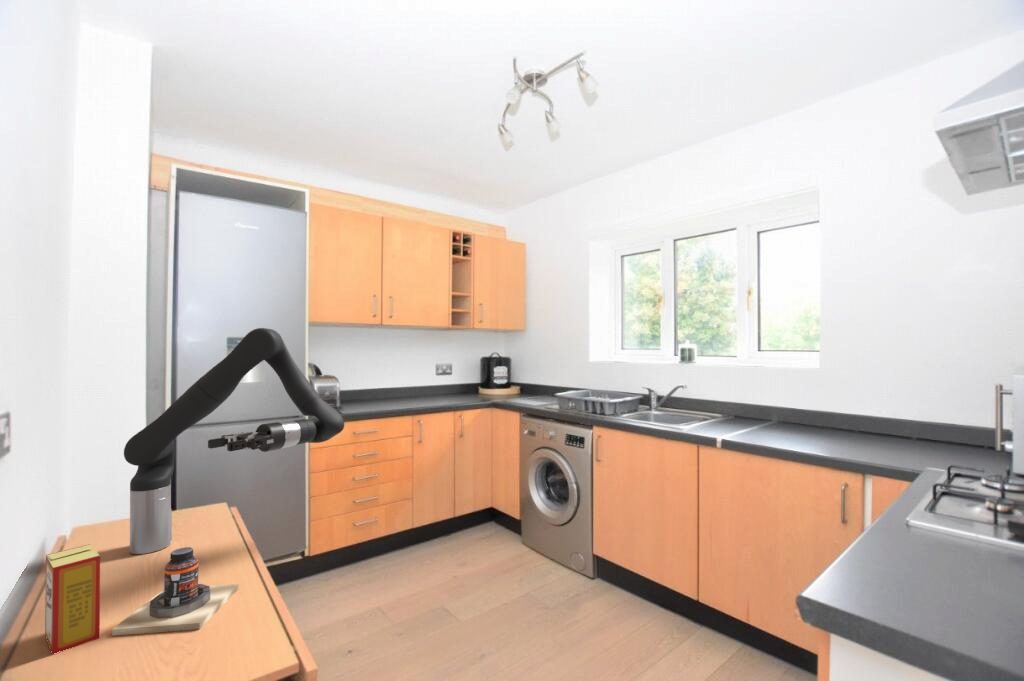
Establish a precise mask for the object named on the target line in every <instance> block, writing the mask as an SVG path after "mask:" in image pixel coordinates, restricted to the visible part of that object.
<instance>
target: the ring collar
mask: <svg viewBox="0 0 1024 681" xmlns="http://www.w3.org/2000/svg"><path fill="white" fill-rule="evenodd" d="M210 586H211V585H208V584H203V583H198V588H199V589H198V595H199V597H198V598H195V599H193V600H191V601H189V602H186V603H183V604H179V605H175V606H161V605H163V604H164V593H161V594H159V595H158V596H156V595H155V596H156V597H155V596H154V597H155V598H154V599H153V600H151V599H150V600H151V601H150V616H151V617H154V618H157V619H162V618H173V617H177V616H181V615H184V614H188V613H191V612H193V611H195V610H197V609H199V608H201V607H203V606H204V605H205V604H206V603H207V602H208V601H209V600H210Z"/></svg>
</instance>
